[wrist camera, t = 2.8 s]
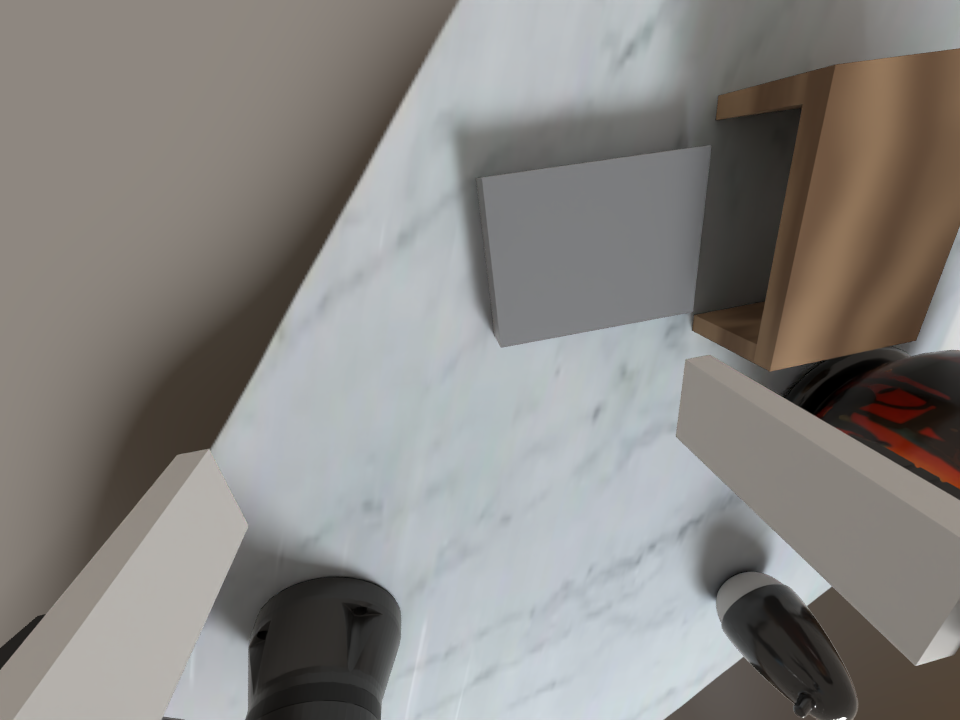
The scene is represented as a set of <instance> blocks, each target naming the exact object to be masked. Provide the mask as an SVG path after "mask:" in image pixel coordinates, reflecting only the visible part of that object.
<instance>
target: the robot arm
mask: <svg viewBox="0 0 960 720" xmlns="http://www.w3.org/2000/svg"><path fill="white" fill-rule="evenodd" d="M676 437H677V438H678V439H679V440H680V441H681V442H682V443H683V444H684V445H685V446H686V447H687V448H688V449H689V450H690V451H691V452H692V453H693V454H695V455H696V456H697V457H698V458H699V459H700V460H701V461H702V462H703V463H704V464H705V465H706V466H707V467H708V468H709V469H710V470H711V471H712V472H713V473H714V474H715V475H716V476H718V477H719V478H720V479H721V480H722V481H723V482H724V483H725V484H726V485H727V486H728V487H729V488H730V489H731V490H732V491H733V492H734V493H735V494H736V495H737V496H738V497H739V498H740V499H742V500H743V501H744V502H745V503H746V504H747V505H748V506H749V507H750V508H751V509H752V510H753V511H754V512H755V513H756V514H757V515H758V516H759V517H760V518H761V519H762V520H763V521H765V522H766V523H767V524H768V525H769V526H770V527H771V528H772V529H773V530H774V531H775V532H776V533H777V534H778V535H779V536H780V537H781V538H782V539H783V540H784V541H785V542H786V543H787V544H789V545H790V546H791V547H792V548H793V549H794V550H795V551H796V552H797V553H798V554H799V555H800V556H801V557H802V558H803V559H804V560H805V561H806V562H807V563H808V564H809V565H810V566H812V567H813V568H814V569H815V570H816V571H817V572H818V573H819V574H820V575H821V576H822V577H823V578H824V579H825V580H826V581H827V582H828V583H829V584H830V585H831V586H832V587H833V588H834V589H836V590H837V591H838V592H839V593H840V594H841V595H842V596H843V597H844V598H845V599H846V600H847V601H848V602H849V603H850V604H851V605H852V606H853V607H854V608H855V609H856V610H858V611H859V612H860V613H861V614H862V615H863V616H864V617H865V618H866V619H867V620H868V621H869V622H870V623H871V624H872V625H873V626H874V627H875V628H876V629H877V630H878V631H880V633H882V634H883V635H884V636H885V637H886V638H887V639H888V640H889V641H890V642H891V643H892V644H893V645H894V646H895V647H896V648H897V649H898V650H899V651H900V652H901V653H902V654H903V655H905V656H906V657H907V658H908V659H909V660H910V661H911V662H912V663H913V664H914V665H915V666H917V665H921V664H924V663H927V662H931V661H934V660H937V659H941V658H944V657H948V656H951V655H954V654H955V653H956V651H957V650H958V648H959V647H960V489H959V488H957V487H955V486H953V485H952V484H950V483H948V482H942V481H940V478H939V477H937V476H936V475H934V474H932V473H930V472H928V471H927V470H925V469H923V468H921V467H919V468H917V467H916V466H915V464H914V463H912V462H911V461H909V460H907V459H905V458H903V457H902V456H900V455H898V454H896V453H895V452H893V451H891V450H889V449H887V448H886V447H883V446H881V445H878V444H875V443H872V442H870V441H867V440H864V439H862V438H859V437H856V436H853V435H851V436H848V435H847V434H845V433H843V432H842V431H840V430H838V429H836V428H835V427H833V426H831V425H830V424H828V423H826V422H824V421H823V420H821V419H819V418H818V417H816V416H814V415H812V414H811V413H809V412H807V411H805V410H804V409H802V408H800V407H799V406H797V405H795V404H793V403H792V402H790V401H788V400H787V399H785V398H783V397H781V396H780V395H778V394H776V393H775V392H773V391H771V390H769V389H768V388H766V387H764V386H763V385H761V384H759V383H757V382H756V381H754V380H752V379H750V378H749V377H747V376H745V375H744V374H742V373H740V372H738V371H737V370H735V369H733V368H732V367H730V366H728V365H726V364H725V363H723V362H721V361H720V360H718V359H716V358H714V357H713V356H711V355H706V356H701V357H696V358H690V359H686V360H685V368H684V375H683V383H682V391H681V399H680V407H679V415H678V423H677V431H676ZM247 529H248V524H247V522H246V520H245V518H244V516H243V514H242V512H241V510H240V508H239V506H238V504H237V502H236V500H235V499H234V497H233V495H232V493H231V491H230V489H229V487H228V485H227V483H226V481H225V479H224V477H223V475H222V473H221V471H220V469H219V467H218V465H217V463H216V462H215V460H214V458H213V456H212V454H211V452H210V450H209V449H206V450H201V451H196V452H191V453H185V454H180V455H177V456H176V457H175V458H174V460H173V461H172V462H171V463H170V465H169V466H168V467H167V468H166V469H165V470H164V472H163V473H162V474H161V475H160V476H159V478H158V479H157V480H156V481H155V483H154V484H153V485H152V486H151V488H150V489H149V490H148V491H147V492H146V494H145V495H144V496H143V497H142V498H141V500H140V501H139V502H138V503H137V504H136V506H135V507H134V508H133V510H132V511H131V512H130V513H129V514H128V515H127V517H126V518H125V519H124V520H123V521H122V523H121V524H120V525H119V526H118V528H117V529H116V530H115V531H114V532H113V534H112V535H111V536H110V537H109V539H108V540H107V541H106V542H105V543H104V545H103V546H102V547H101V548H100V549H99V551H98V552H97V553H96V554H95V556H94V557H93V558H92V559H91V560H90V562H89V563H88V564H87V565H86V567H85V568H84V569H83V570H82V571H81V572H80V574H79V575H78V576H77V577H76V579H75V580H74V581H73V582H72V583H71V585H70V586H69V587H68V588H67V589H66V591H65V592H64V593H63V594H62V596H61V597H60V598H59V599H58V601H57V602H56V603H55V604H54V605H53V606H52V608H51V609H50V610H49V611H48V613H47V614H45V615H40V616H37V617H36V618H35V619H34V620H32V622H30V623H29V624H28V625H27V626H25V627H24V628H23V629H22V630H21V631H20V632H18V633H17V634H16V635H15V636H14V637H13V638H11V640H9V641H8V642H7V643H6V644H5V645H4V646H2V647H1V648H0V720H183V719H176V718H169V717H163V715H164V713H165V711H166V709H167V706H168V704H169V702H170V700H171V697H172V695H173V693H174V691H175V689H176V686H177V684H178V682H179V680H180V678H181V675H182V673H183V671H184V669H185V666H186V664H187V662H188V660H189V658H190V655H191V653H192V651H193V649H194V646H195V644H196V642H197V640H198V638H199V635H200V633H201V631H202V629H203V626H204V624H205V622H206V620H207V618H208V615H209V613H210V611H211V609H212V606H213V604H214V602H215V600H216V598H217V595H218V593H219V591H220V589H221V586H222V584H223V582H224V580H225V578H226V575H227V573H228V571H229V569H230V566H231V564H232V562H233V560H234V558H235V555H236V553H237V551H238V549H239V546H240V544H241V542H242V540H243V538H244V535H245V533H246V531H247ZM400 639H401V611H400V608H399V606H398V604H397V602H396V600H395V599H394V598H393V597H392V596H391V595H390V594H389V593H388V592H387V591H385V590H384V589H382V588H380V587H379V586H376V585H374V584H372V583H369V582H366V581H362V580H358V579H352V578H340V577H332V578H321V579H315V580H310V581H306V582H303V583H299V584H297V585H294V586H292V587H289V588H287V589H285V590H283V591H282V592H280V593H278V594H277V595H275V596H274V597H273V598H272V599H270V600H269V601H268V602H267V603H266V604H265V605H264V607H263V608H262V609H261V611H260V612H259V614H258V617H257V619H256V622H255V625H254V628H253V631H252V634H251V637H250V642H249V649H248V712H247V716H246V719H245V720H381V705H382V699H383V696H384V693H385V690H386V686H387V683H388V680H389V677H390V673H391V670H392V667H393V664H394V661H395V657H396V654H397V651H398V648H399V644H400Z"/></svg>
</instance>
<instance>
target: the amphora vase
mask: <svg viewBox="0 0 960 720" xmlns="http://www.w3.org/2000/svg"><path fill="white" fill-rule="evenodd" d="M786 399H787V400H788V401H790V402H792V403H793V404H795V405H797V406H799V407H800V408H802V409H804V410H805V411H807V412H809V413H811V414H812V415H814V416H816V417H818V418H819V419H821V420H823V421H824V422H826V423H828V424H830V425H831V426H833V427H835V428H836V429H838V430H840V431H842V432H843V433H845V434H847V435H848V436H851V435H853V436H856V437H859V438H862V439H864V440H867V441H870V442H872V443H875V444H878V445H881V446H883V447H886V448H887V449H889V450H891V451H893V452H895V453H896V454H898V455H900V456H902V457H903V458H905V459H907V460H909V461H911V462H912V463H914V464H915V466H916V467H917V468H919V467H921V468H923V469H925V470H927V471H928V472H930V473H932V474H934V475H936V476H937V477H939V478H940V481H942V482H948V483H950V484H952V485H953V486H955V487H957V488H959V489H960V350H947V351H939V352H930V353H923V354H919V355H915V356H910V355H909V354H908V353H907V352H905V351H903V350H900V349H897V348H895V347H892V346H888V347H883V348H878V349H874V350H869V351H864V352H860V353H855V354H850V355H846V356H841V357H836V358H831V359H828V360H826V361H824V362H823V363H821V364H820V365H819V366H817V367H816V368H814V369H813V370H812V371H810V372H809V373H808V374H806V375H805V377H804V378H803V379H802V380H801V381H800V382H799V383H798V384H797V385H796V386H795V387H794V388H793V389H792V390H791V391H790V393H789V394H788V396H787V397H786Z"/></svg>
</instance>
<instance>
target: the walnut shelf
mask: <svg viewBox="0 0 960 720" xmlns="http://www.w3.org/2000/svg"><path fill="white" fill-rule="evenodd" d="M798 108H802V111H801V116H800V121H799V126H798V132H797V137H796V142H795V147H794V153H793V158H792V163H791V168H790V174H789V179H788V184H787V189H786V195H785V200H784V205H783V210H782V215H781V221H780V226H779V231H778V236H777V242H776V247H775V252H774V257H773V263H772V268H771V273H770V278H769V284H768V289H767V294H766V299H765V301H764V302H759V303H754V304H749V305H743V306H738V307H733V308H728V309H723V310H717V311H712V312H707V313H702V314H697V315H694V320H693V329H692V331H694V332H696V333H698V334H700V335H702V336H703V337H705V338H707V339H709V340H711V341H713V342H715V343H717V344H719V345H721V346H722V347H724V348H726V349H728V350H730V351H732V352H734V353H736V354H738V355H739V356H741V357H743V358H745V359H747V360H749V361H751V362H753V363H755V364H757V365H758V366H760V367H762V368H764V369H766V370H768V371H775V370H780V369H784V368H789V367H794V366H799V365H803V364H808V363H813V362H817V361H822V360H827V359H831V358H836V357H841V356H846V355H850V354H855V353H860V352H864V351H869V350H874V349H878V348H883V347H888V346H893V345H897V344H902V343H907V342H911V341H916V339H917V337H918V334H919V332H920V329H921V326H922V324H923V321H924V318H925V316H926V313H927V311H928V308H929V305H930V303H931V300H932V297H933V295H934V292H935V290H936V287H937V284H938V282H939V279H940V276H941V274H942V271H943V268H944V266H945V263H946V261H947V258H948V255H949V253H950V250H951V247H952V245H953V242H954V240H955V237H956V234H957V232H958V229H959V226H960V48H959V49H952V50H944V51H936V52H929V53H921V54H913V55H906V56H898V57H890V58H883V59H875V60H867V61H860V62H852V63H844V64H837V65H832V66H828V67H825V68H821V69H817V70H813V71H810V72H806V73H802V74H798V75H795V76H791V77H787V78H783V79H779V80H776V81H772V82H768V83H764V84H761V85H757V86H753V87H749V88H746V89H742V90H738V91H734V92H731V93H727V94H723V95H719V96H718V105H717V114H716V120H720V119H727V118H734V117H742V116H749V115H756V114H763V113H770V112H777V111H784V110H791V109H798Z"/></svg>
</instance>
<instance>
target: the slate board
mask: <svg viewBox="0 0 960 720" xmlns="http://www.w3.org/2000/svg"><path fill="white" fill-rule="evenodd" d="M711 147H712V145H708V146H699V147H690V148H682V149H675V150H668V151H661V152H654V153H647V154H640V155H633V156H626V157H619V158H612V159H605V160H598V161H591V162H584V163H577V164H570V165H563V166H556V167H549V168H542V169H535V170H528V171H521V172H514V173H507V174H500V175H493V176H486V177H478V178H476V184H477V192H478V201H479V209H480V218H481V226H482V235H483V243H484V251H485V260H486V268H487V277H488V285H489V294H490V302H491V311H492V319H493V327H494V336H495V338H496V340H497V341H498V343H499V345H500V347H501V348H502V347H508V346H513V345H518V344H524V343H529V342H534V341H540V340H545V339H550V338H556V337H561V336H566V335H572V334H577V333H583V332H588V331H593V330H599V329H604V328H609V327H615V326H620V325H625V324H631V323H636V322H642V321H647V320H652V319H658V318H663V317H668V316H674V315H679V314H684V313H690V312H693V307H694V298H695V289H696V281H697V272H698V263H699V254H700V245H701V236H702V227H703V218H704V210H705V201H706V192H707V183H708V174H709V165H710V156H711Z"/></svg>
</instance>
